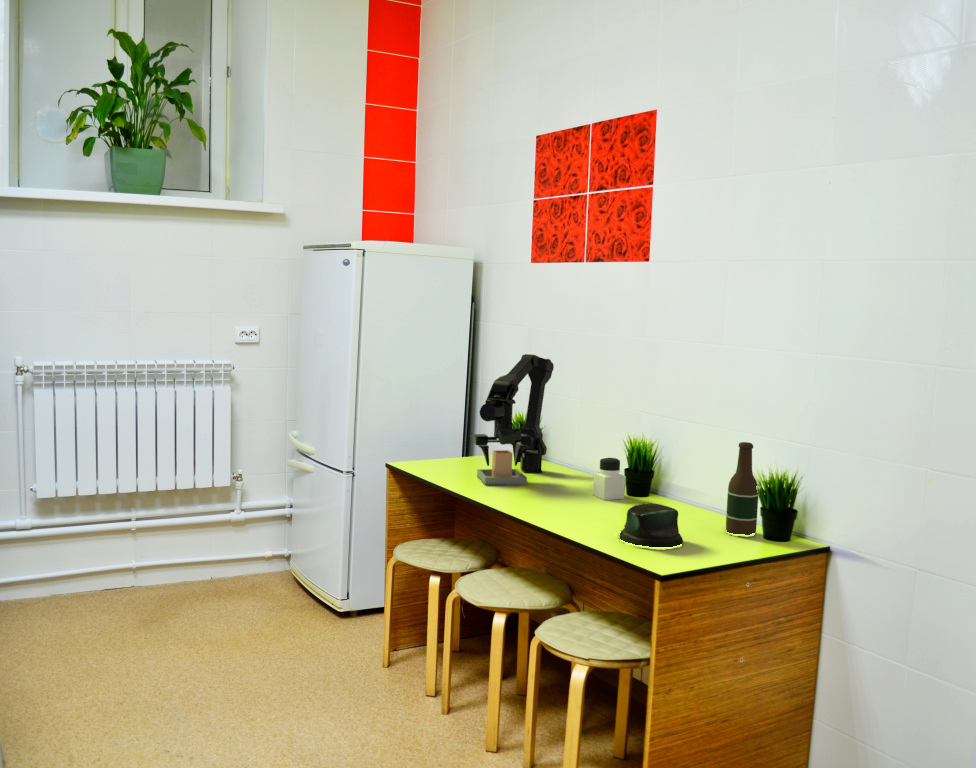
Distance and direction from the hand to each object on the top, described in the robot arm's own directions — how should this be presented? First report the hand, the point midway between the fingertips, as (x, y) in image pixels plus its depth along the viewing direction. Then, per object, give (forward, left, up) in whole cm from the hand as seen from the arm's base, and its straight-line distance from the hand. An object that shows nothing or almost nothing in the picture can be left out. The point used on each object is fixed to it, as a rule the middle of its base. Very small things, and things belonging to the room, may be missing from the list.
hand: (501, 465), depth 278 cm
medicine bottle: (-28, +25, -5) cm, 38 cm away
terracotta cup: (0, 0, -4) cm, 4 cm away
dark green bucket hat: (-22, +72, -6) cm, 76 cm away
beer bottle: (-49, +68, -5) cm, 84 cm away
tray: (0, 0, -5) cm, 5 cm away
